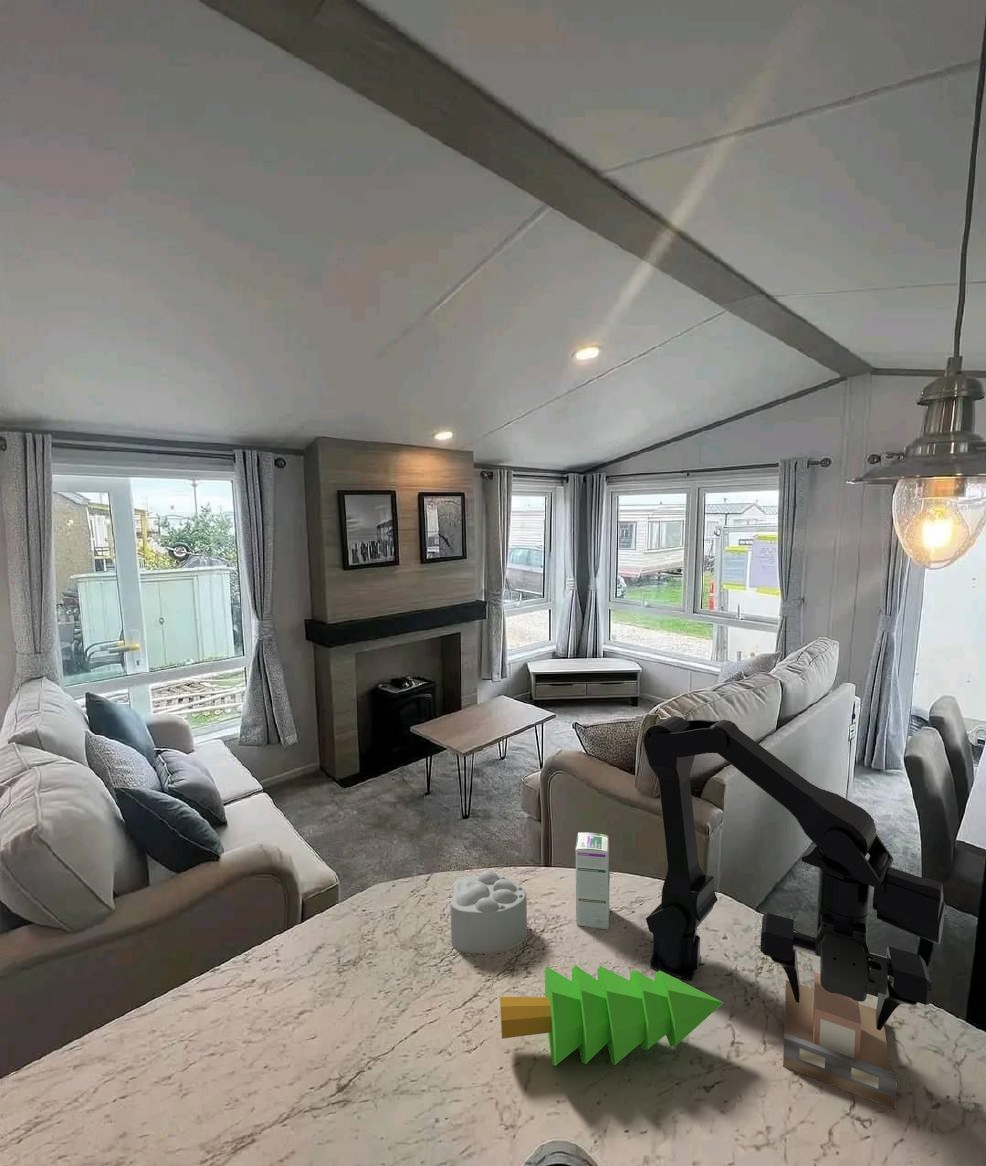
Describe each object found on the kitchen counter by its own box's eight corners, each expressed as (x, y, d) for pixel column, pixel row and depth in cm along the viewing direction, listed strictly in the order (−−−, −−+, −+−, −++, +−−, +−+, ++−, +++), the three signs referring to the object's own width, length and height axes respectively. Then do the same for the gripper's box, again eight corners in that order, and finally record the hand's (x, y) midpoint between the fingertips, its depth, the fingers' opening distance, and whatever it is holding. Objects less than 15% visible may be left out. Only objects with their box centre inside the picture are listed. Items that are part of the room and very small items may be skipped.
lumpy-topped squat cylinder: (455, 911, 105) (454, 866, 104) (525, 912, 105) (525, 867, 104) (449, 953, 95) (448, 904, 94) (527, 954, 94) (527, 904, 93)
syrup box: (609, 930, 100) (610, 851, 98) (575, 926, 101) (575, 847, 99) (609, 909, 105) (610, 833, 104) (576, 905, 106) (577, 830, 105)
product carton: (812, 1011, 81) (814, 971, 80) (854, 1025, 78) (856, 985, 78) (813, 1052, 75) (815, 1010, 74) (858, 1069, 72) (861, 1025, 72)
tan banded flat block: (782, 1067, 74) (784, 1039, 74) (785, 989, 87) (786, 964, 86) (895, 1111, 68) (897, 1080, 68) (880, 1020, 81) (882, 994, 81)
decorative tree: (497, 950, 79) (714, 936, 79) (500, 995, 84) (702, 982, 84) (502, 1048, 69) (750, 1032, 69) (504, 1092, 74) (734, 1077, 74)
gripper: (759, 918, 72) (755, 1032, 74) (945, 971, 63) (936, 1099, 65) (764, 871, 82) (760, 972, 83) (926, 911, 73) (918, 1024, 75)
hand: (836, 1013), depth 76 cm, fingers open, 9 cm apart
